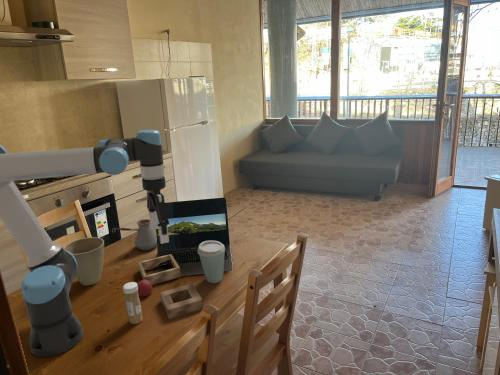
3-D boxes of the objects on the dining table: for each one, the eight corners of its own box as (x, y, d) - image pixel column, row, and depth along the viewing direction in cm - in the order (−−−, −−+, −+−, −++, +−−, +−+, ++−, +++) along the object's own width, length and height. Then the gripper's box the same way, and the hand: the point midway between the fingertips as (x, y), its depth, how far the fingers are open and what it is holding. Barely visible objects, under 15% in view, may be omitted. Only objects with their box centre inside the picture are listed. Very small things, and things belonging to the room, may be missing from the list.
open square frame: (145, 286, 150) (144, 277, 149) (139, 270, 162) (138, 262, 161) (181, 276, 155) (179, 267, 154) (172, 262, 167) (171, 254, 166)
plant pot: (62, 289, 151) (54, 252, 146) (86, 270, 165) (79, 236, 160) (96, 292, 148) (88, 255, 143) (117, 272, 161) (111, 238, 157)
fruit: (139, 303, 143) (142, 291, 138) (132, 291, 145) (134, 279, 140) (154, 296, 146) (157, 284, 141) (147, 285, 149) (150, 272, 144)
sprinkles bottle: (144, 320, 129) (139, 285, 125) (131, 326, 127) (125, 290, 123) (140, 314, 133) (134, 279, 129) (127, 319, 130) (121, 284, 126)
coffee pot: (151, 239, 192) (147, 211, 187) (164, 245, 184) (160, 216, 180) (111, 255, 177) (105, 225, 173) (124, 263, 169) (118, 231, 165)
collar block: (169, 319, 129) (167, 310, 128) (161, 301, 140) (159, 292, 139) (203, 308, 134) (202, 299, 133) (192, 291, 144) (192, 283, 143)
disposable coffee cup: (229, 272, 156) (226, 238, 152) (225, 287, 146) (222, 251, 141) (204, 272, 157) (200, 238, 153) (198, 287, 147) (194, 251, 143)
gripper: (175, 183, 120) (180, 246, 126) (155, 167, 141) (161, 221, 147) (150, 187, 116) (157, 251, 122) (134, 170, 138) (141, 225, 144)
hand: (159, 235), depth 135 cm, fingers open, 13 cm apart
